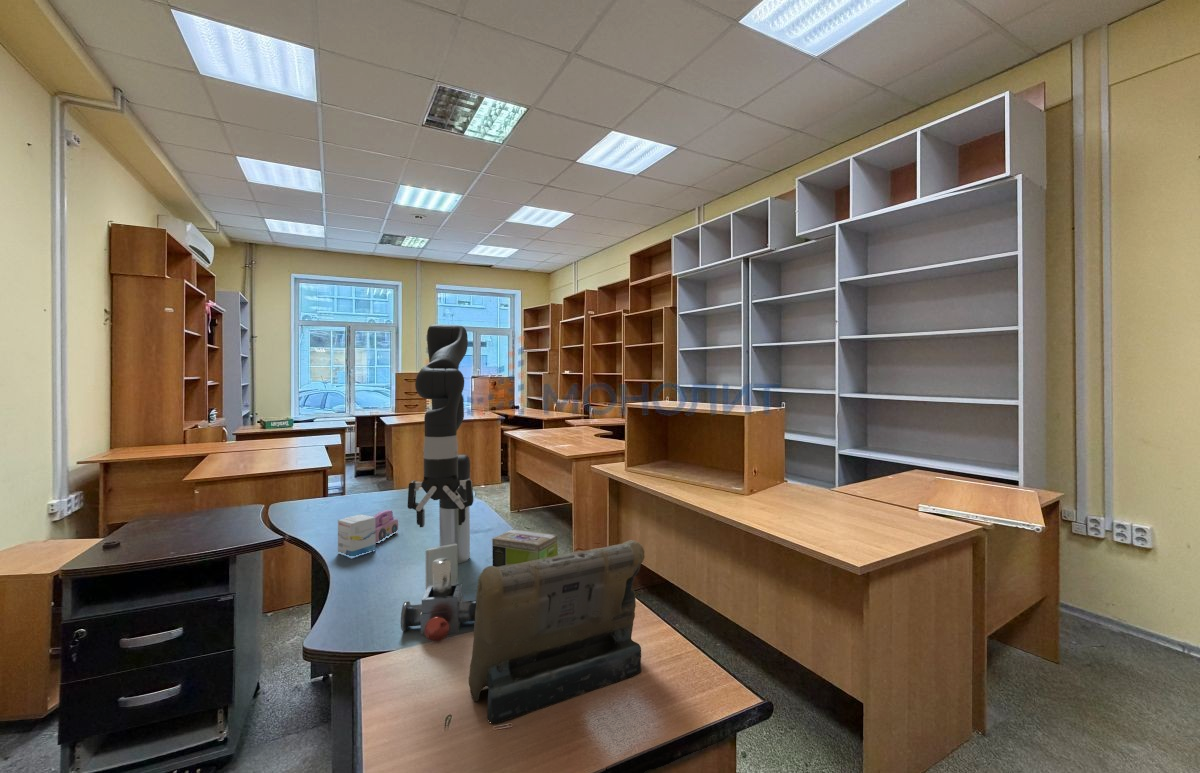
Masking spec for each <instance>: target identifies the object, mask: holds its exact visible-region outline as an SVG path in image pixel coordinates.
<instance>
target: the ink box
mask: <svg viewBox="0 0 1200 773" xmlns="http://www.w3.org/2000/svg"><path fill="white" fill-rule="evenodd" d="M375 528H376V527H375V517H373V516H370V515H365V514H363V513H361V514H356V515H351V516H347V517H344V518H341V519H337V553H338V552H341V553H344V554H346V555H349V556H356V555H359V554H362V553H366V552H369V551H373V550H375V549H376V550H377V546H376V545H377V544H376V529H375Z"/></svg>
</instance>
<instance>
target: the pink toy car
mask: <svg viewBox="0 0 1200 773" xmlns="http://www.w3.org/2000/svg"><path fill="white" fill-rule="evenodd" d="M393 515H394V514H393V510H391V509H386V510H382V511H380V512H378V513H376V514H375V515H373V516H372V517H375V527H376V528H375V529H376V542H378V541H380V540H382V539H383V538H385V537H386V536H389V535H390V534H392V533H394V532H396V531H397V530H398V531H399V520H398V519H397V518H395V516H393ZM394 518H395V519H394Z"/></svg>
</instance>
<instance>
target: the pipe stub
mask: <svg viewBox="0 0 1200 773" xmlns="http://www.w3.org/2000/svg"><path fill="white" fill-rule="evenodd" d="M432 571H433V597H442V596H452V591H451V560H450V559H449V558H439V559H436V560H434V561H433V562H432Z"/></svg>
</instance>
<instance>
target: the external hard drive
mask: <svg viewBox="0 0 1200 773" xmlns="http://www.w3.org/2000/svg"><path fill="white" fill-rule="evenodd" d="M424 552H425V591H426V590H427V587H428V586H431V585H433V571H432V562H433V561H434V560H436V559H439V558H449V559H450V560H451V584H459V578H458V577H459V574H458V571H459V565H458V545H457V544H450V545H445V546H440V545H439V546H436V547H435V546H434V547H432V548H431V547H429V548H426V549H425V551H424Z"/></svg>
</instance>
